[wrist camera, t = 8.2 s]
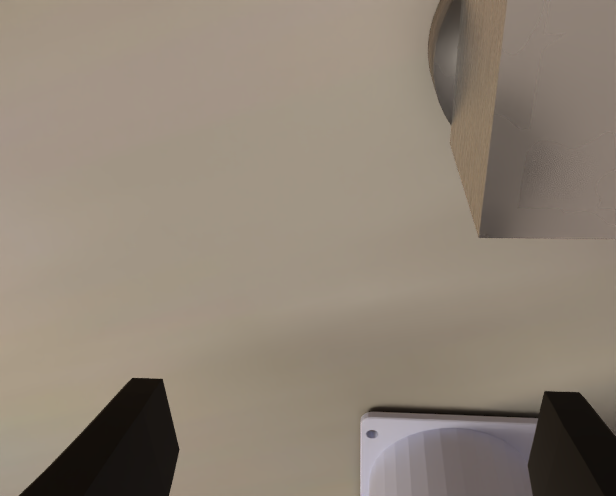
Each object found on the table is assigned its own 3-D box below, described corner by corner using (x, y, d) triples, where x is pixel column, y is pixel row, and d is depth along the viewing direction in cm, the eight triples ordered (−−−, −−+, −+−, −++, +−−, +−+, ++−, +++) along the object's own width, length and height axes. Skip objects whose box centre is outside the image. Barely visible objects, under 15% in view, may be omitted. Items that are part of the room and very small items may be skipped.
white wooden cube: (623, 141, 17) (721, 240, 12) (449, 143, 17) (478, 238, 12) (669, -48, 14) (816, -19, 10) (465, -41, 15) (508, -9, 10)
